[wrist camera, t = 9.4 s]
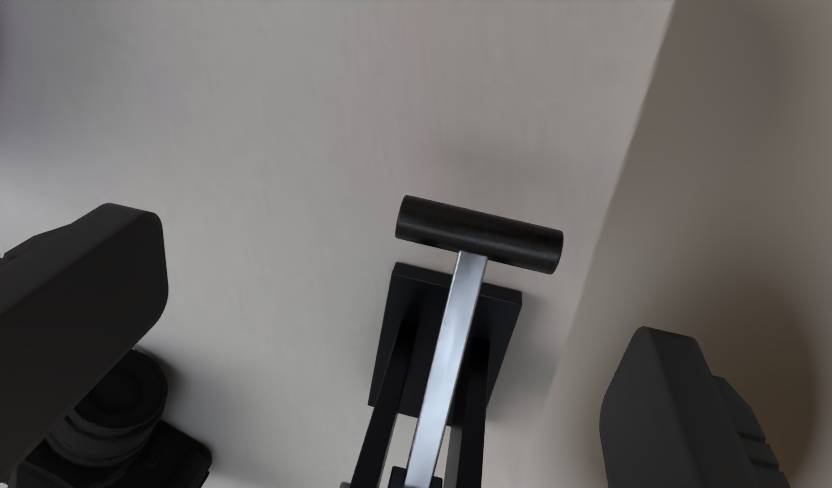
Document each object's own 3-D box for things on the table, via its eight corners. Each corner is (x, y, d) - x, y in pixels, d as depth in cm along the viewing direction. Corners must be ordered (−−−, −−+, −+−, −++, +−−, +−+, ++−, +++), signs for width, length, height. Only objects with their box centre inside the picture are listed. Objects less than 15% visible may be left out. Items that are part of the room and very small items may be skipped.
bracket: (395, 261, 29) (322, 452, 18) (522, 291, 29) (527, 505, 17) (371, 392, 34) (302, 604, 23) (479, 419, 34) (461, 649, 22)
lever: (408, 193, 21) (401, 195, 19) (557, 227, 21) (569, 235, 18) (337, 511, 23) (322, 549, 21) (471, 546, 23) (472, 589, 21)
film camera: (256, 415, 37) (186, 539, 29) (202, 479, 41) (130, 601, 33) (55, 292, 34) (-80, 392, 26) (22, 376, 39) (-101, 481, 31)
